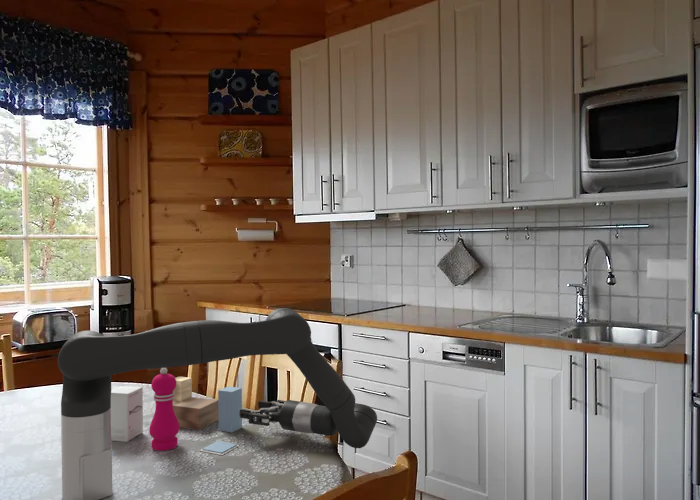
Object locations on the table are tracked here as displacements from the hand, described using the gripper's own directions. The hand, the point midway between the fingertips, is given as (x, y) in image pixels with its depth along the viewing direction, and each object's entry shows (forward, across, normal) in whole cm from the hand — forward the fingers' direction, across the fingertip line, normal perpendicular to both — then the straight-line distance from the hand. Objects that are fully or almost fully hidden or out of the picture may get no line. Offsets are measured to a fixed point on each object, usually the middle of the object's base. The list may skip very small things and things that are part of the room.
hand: (249, 408), depth 152 cm
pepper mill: (+13, +18, +7) cm, 23 cm away
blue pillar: (+7, 0, +6) cm, 9 cm away
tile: (0, +13, +6) cm, 15 cm away
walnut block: (+19, 0, +7) cm, 20 cm away
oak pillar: (+27, -4, +6) cm, 28 cm away
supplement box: (+29, +17, +7) cm, 34 cm away
